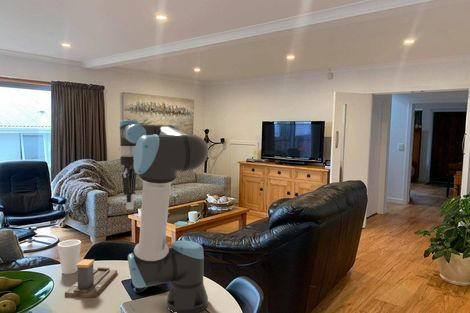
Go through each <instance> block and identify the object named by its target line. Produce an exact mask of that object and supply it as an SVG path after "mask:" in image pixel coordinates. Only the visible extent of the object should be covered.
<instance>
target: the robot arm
mask: <svg viewBox="0 0 470 313" xmlns="http://www.w3.org/2000/svg"><path fill="white" fill-rule="evenodd" d="M119 137H120V139H119V145H120V146H119V150H120V151H119V152H120V153H119V154H120V155H121V156H119V159H120V160H119V162H120V163H119V164H120V165H121V166H124V167H123V172H121V177H122V186H123V195H125V201H126V202H125V205H126V207H125V208H126V210H134V195H136V185H137V184H136V182H137V174H138V178H139V179H140V180H141V181H142V193H141V194H142V196H141V208H140V209H141V210H140V227H139V241H138V242H139V243H137V244H136V245H135V246H134V249H133V252H131V253H128V255H127V263H128V268H129V274H130V280H131V279H132V283H133V285H134V286H133V287H134V288H136V289H141V288H148V287H152V286H157V285H161V284H167V283H171V286H170V289H169V292H168V294H167V298H166V307H167V306H168V308H169V309H170V310H172V311H173V312H177V313H197V312H199V313H201V312H202V310H203V311H204V310H206V308H207V307H208V305H209V298H208V294H207V291H206V287H205V284H204V266H205V264H204V262H205V260H204V259H205V256H204V247H203V246H202V244H200V243H199V242H195V241H193V240H192V241H191V240H175V241H172V243H171V245H170V247H169V246H168V245H167V244H166V237H167V236H166V235H167V229H168V228H167V226H168V219H169V218H168V215H169V205H170V195H171V194H170V193H171V186H172V183H174V182H175V181H176V180H177V175H178V174H177V173H179V172H191V171H194V170H197V169H199V168H200V167H201V166H203V165H204V163H205V162H206V160H207V159H208V155H209V147H208V144H207V142H206V140H204V138H202V137H201V136H198V135H196V134H186V133H184V132H183V131H180V129H179V127H178V126H177V125H175V124H174V125H173V124H139V122H138V120H136V119H121V120H120V121H119ZM168 308H167V309H168ZM200 311H201V312H200Z"/></svg>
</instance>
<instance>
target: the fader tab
mask: <svg viewBox="0 0 470 313" xmlns="http://www.w3.org/2000/svg"><path fill="white" fill-rule="evenodd" d="M94 263H95V259H85V258H84V259H82V260H79V263H78V264H77V265H76V267H77V281H78V289H84V290H88V289H89V288H90V287H91V286H92V285H93V284H94V273H93V269H94Z"/></svg>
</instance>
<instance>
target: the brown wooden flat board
mask: <svg viewBox="0 0 470 313" xmlns="http://www.w3.org/2000/svg"><path fill="white" fill-rule="evenodd" d="M93 273H94V284H93V285H92V286H91V287H90V288H89V289H88V290H84V289H78V280H77V281H76V282H75V283H74V284H73V285H71V287H69V288H68V289H67V290H66V291H64V297H73V298H96V297H97V296H98V295H99V294H100V293H101V292H102V291H103V290H104V289H105V288H106V287H107V285H108V284H110V282H111V281H112V280H113V279H114V277H116V275H117V274H118V270H116V269H110V267H100V266H99V267H97V268H96V269H94V268H93Z"/></svg>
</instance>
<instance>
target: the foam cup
mask: <svg viewBox="0 0 470 313" xmlns="http://www.w3.org/2000/svg"><path fill="white" fill-rule="evenodd" d="M81 248H82V241H81V240H80V239H67V240H63V241H60V242H58V243H57V252H58V257H59V261H60V262H59V263H60V267H61V273H62V274H64V275H70V274H74V273H76V271H77V267H76V265H77V264H78V263H79V262H80V257H81V256H80V254H81Z"/></svg>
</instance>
